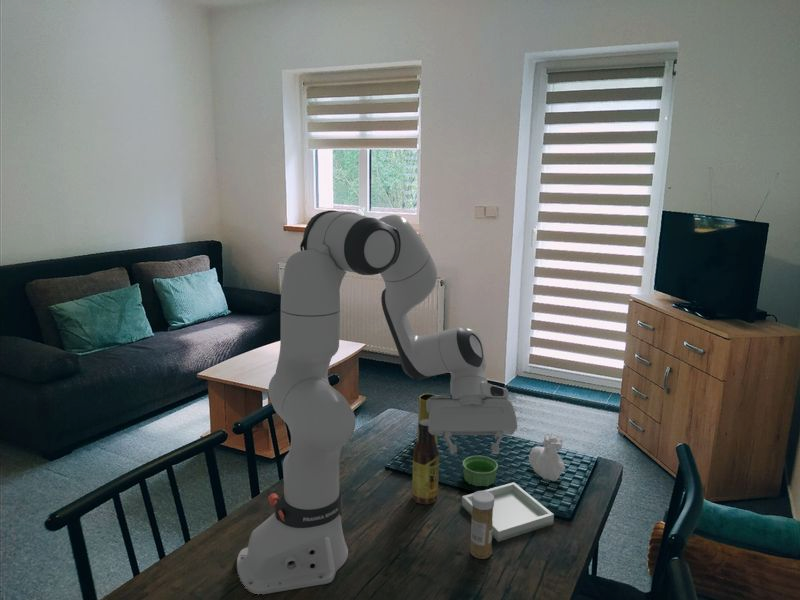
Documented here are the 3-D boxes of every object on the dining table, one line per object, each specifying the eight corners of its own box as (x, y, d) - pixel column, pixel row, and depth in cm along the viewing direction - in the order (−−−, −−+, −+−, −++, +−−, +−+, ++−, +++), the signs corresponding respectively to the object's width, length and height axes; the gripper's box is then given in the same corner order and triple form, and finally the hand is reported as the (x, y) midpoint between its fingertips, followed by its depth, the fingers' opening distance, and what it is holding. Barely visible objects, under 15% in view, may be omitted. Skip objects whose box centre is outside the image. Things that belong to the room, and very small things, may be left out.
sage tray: (498, 541, 129) (498, 531, 128) (461, 505, 142) (462, 496, 141) (553, 524, 135) (553, 514, 135) (513, 491, 148) (514, 482, 148)
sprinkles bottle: (496, 555, 125) (499, 497, 121) (479, 562, 122) (482, 504, 119) (481, 543, 128) (484, 487, 125) (465, 550, 126) (467, 493, 123)
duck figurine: (562, 491, 152) (586, 454, 153) (545, 480, 149) (569, 442, 150) (532, 470, 163) (554, 435, 164) (515, 459, 159) (538, 423, 160)
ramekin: (460, 486, 150) (461, 471, 149) (463, 468, 159) (464, 453, 158) (496, 490, 149) (497, 474, 148) (497, 472, 157) (498, 457, 156)
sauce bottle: (433, 508, 141) (435, 430, 136) (408, 502, 143) (409, 426, 138) (440, 493, 147) (443, 419, 142) (416, 488, 149) (418, 415, 144)
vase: (427, 436, 177) (428, 391, 173) (442, 443, 172) (443, 397, 169) (412, 442, 173) (413, 396, 170) (426, 450, 169) (427, 403, 165)
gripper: (426, 390, 137) (429, 449, 130) (514, 389, 138) (522, 448, 131) (424, 400, 142) (427, 457, 135) (509, 399, 143) (516, 456, 136)
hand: (474, 453), depth 133 cm, fingers open, 8 cm apart
